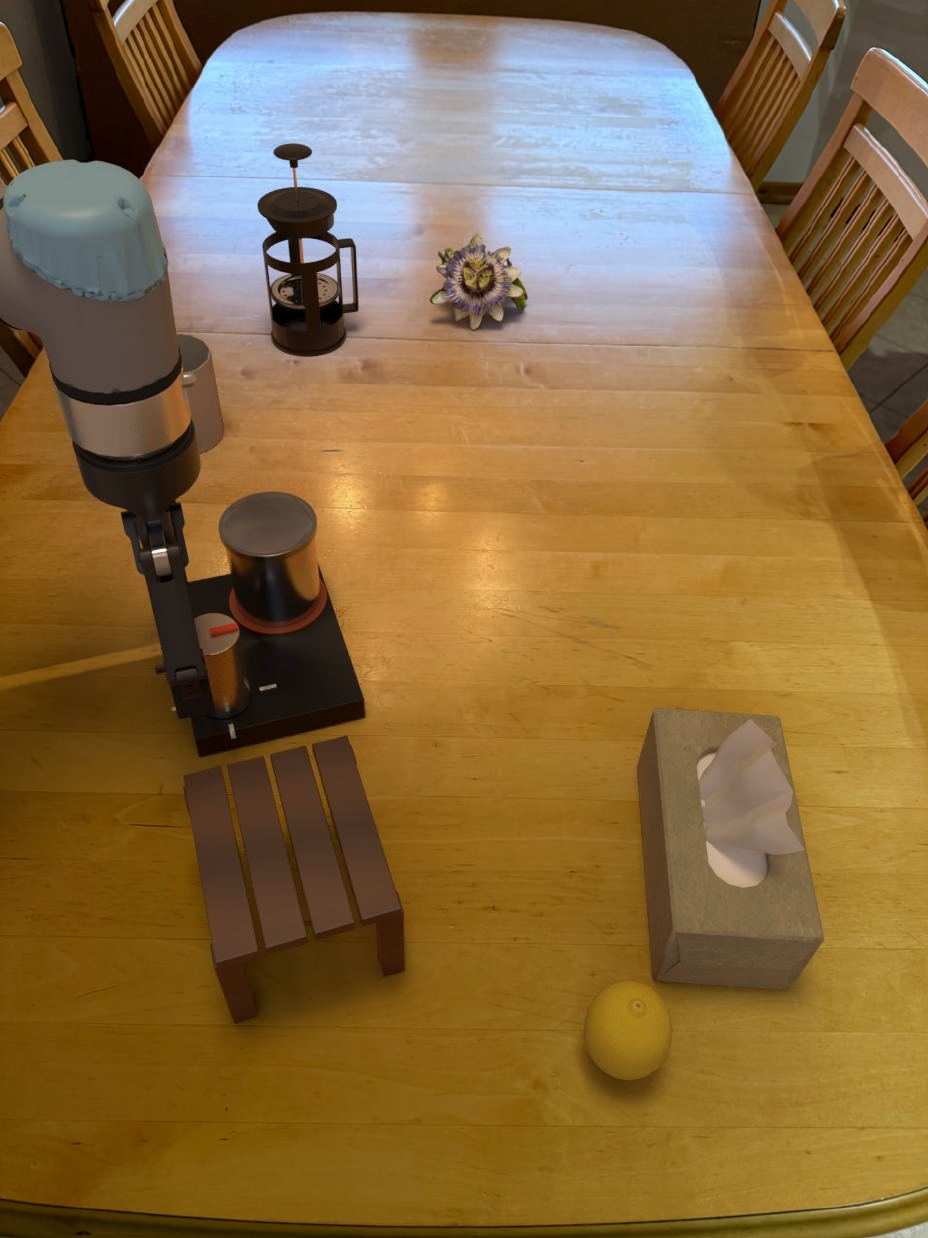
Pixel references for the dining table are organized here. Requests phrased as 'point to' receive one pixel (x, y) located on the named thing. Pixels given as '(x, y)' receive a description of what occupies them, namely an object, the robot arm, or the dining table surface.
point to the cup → (202, 391)
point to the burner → (278, 630)
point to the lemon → (628, 1030)
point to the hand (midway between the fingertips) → (183, 645)
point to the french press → (305, 265)
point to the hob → (280, 677)
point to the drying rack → (273, 867)
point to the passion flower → (478, 282)
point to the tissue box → (724, 852)
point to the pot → (272, 557)
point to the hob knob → (224, 664)
